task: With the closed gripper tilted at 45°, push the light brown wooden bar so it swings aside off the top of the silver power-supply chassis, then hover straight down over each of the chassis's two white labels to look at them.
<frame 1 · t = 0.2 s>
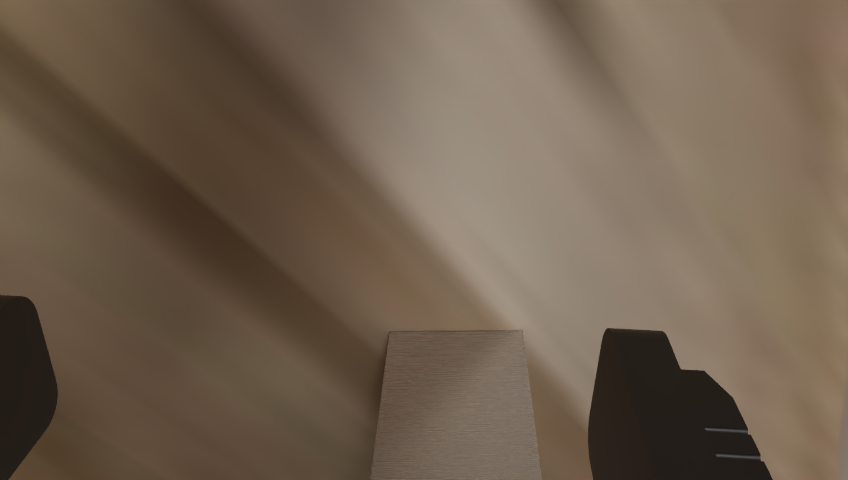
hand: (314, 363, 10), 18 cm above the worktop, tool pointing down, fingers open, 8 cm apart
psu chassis: (459, 456, 36), on the worktop
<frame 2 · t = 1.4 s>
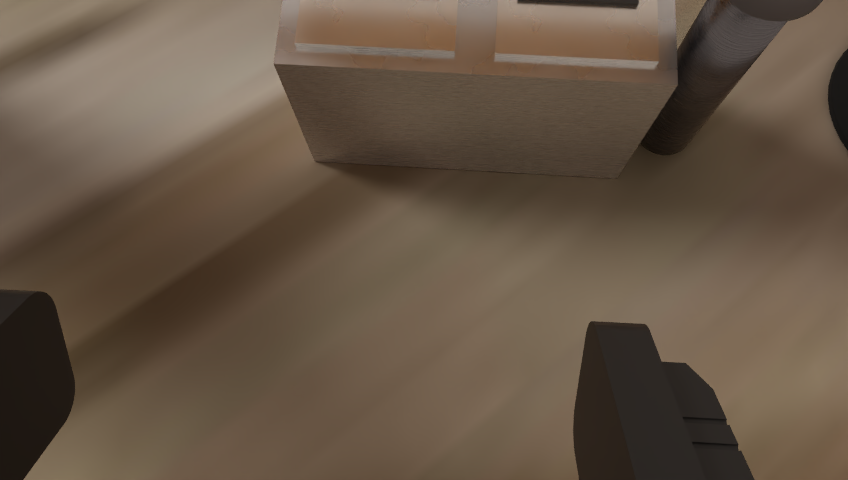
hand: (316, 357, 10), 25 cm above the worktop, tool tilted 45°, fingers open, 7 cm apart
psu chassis: (467, 118, 39), on the worktop
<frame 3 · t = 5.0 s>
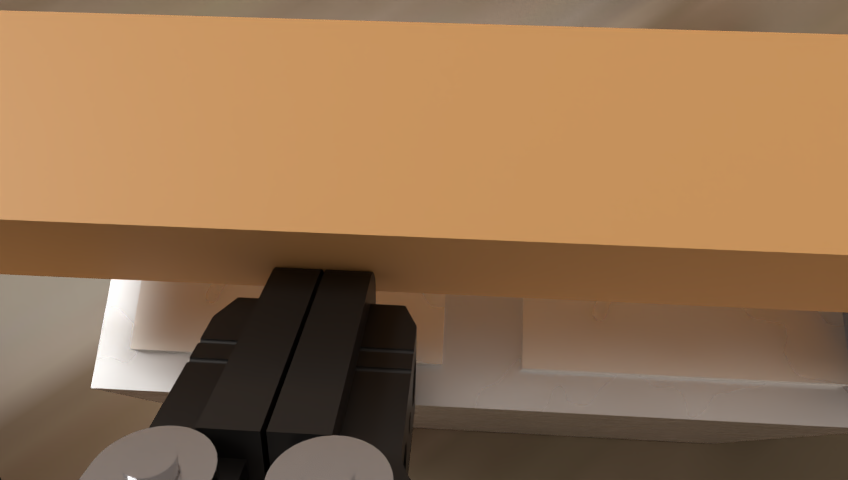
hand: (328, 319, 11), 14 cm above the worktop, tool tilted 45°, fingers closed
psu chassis: (470, 341, 25), on the worktop
light brown wooden bar: (587, 176, 10), point 15 cm above the worktop, hinge at 0.0°, touching gripper
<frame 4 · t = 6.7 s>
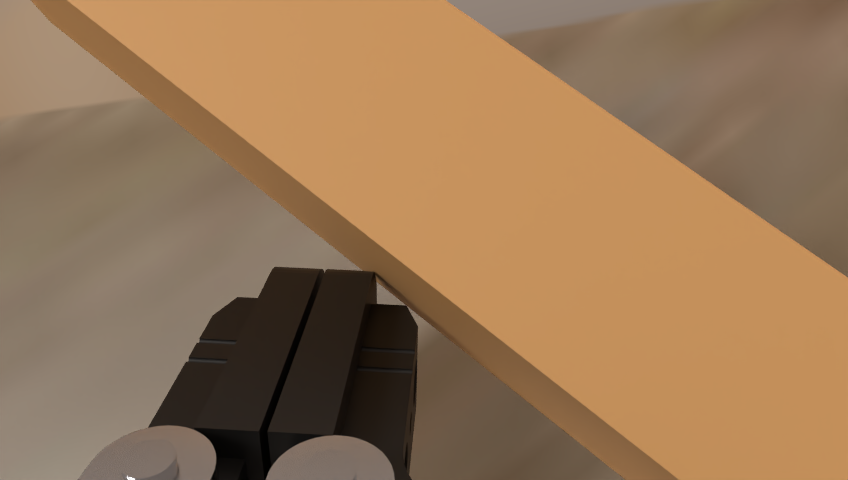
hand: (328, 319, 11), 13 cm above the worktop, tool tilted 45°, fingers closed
light brown wooden bar: (666, 349, 9), point 15 cm above the worktop, hinge at -37.3°, touching gripper
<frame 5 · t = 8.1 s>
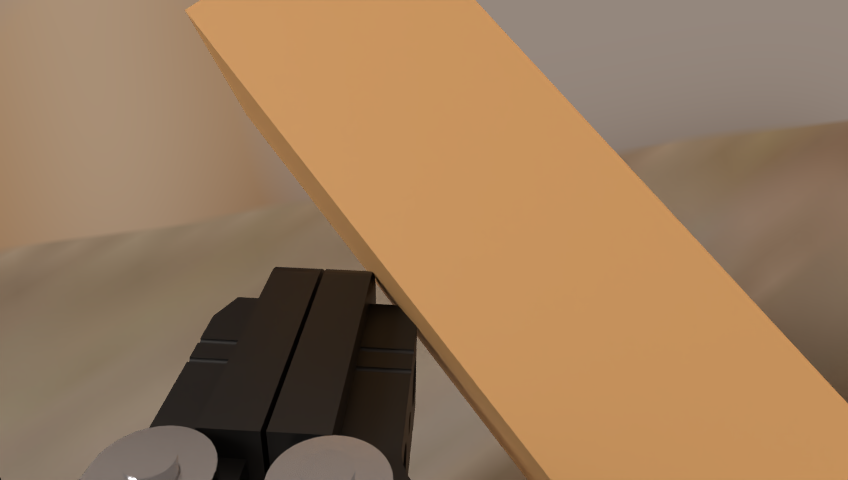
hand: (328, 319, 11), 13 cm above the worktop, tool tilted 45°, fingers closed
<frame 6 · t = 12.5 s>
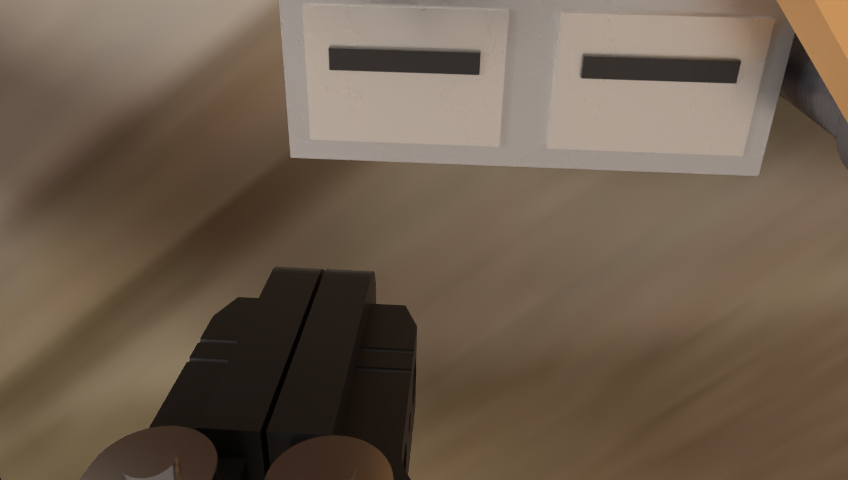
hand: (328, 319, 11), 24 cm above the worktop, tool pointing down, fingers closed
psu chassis: (513, 20, 32), on the worktop
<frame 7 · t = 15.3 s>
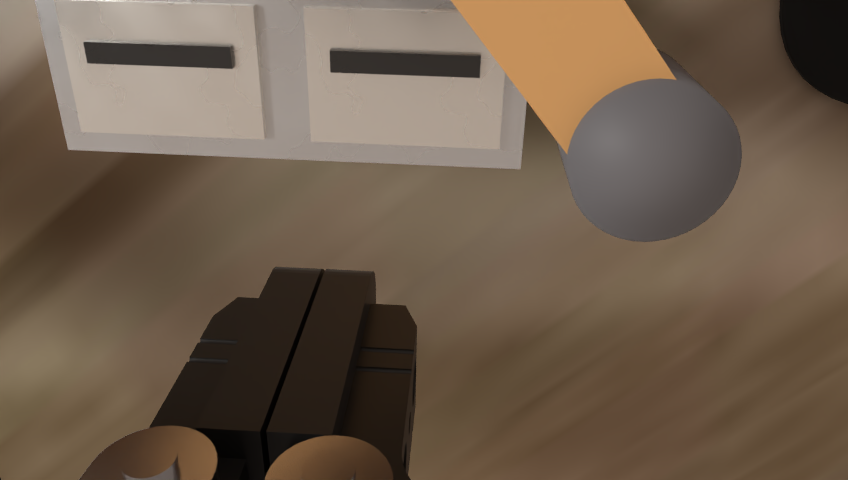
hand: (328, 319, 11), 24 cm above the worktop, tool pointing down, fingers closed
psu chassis: (336, 17, 32), on the worktop
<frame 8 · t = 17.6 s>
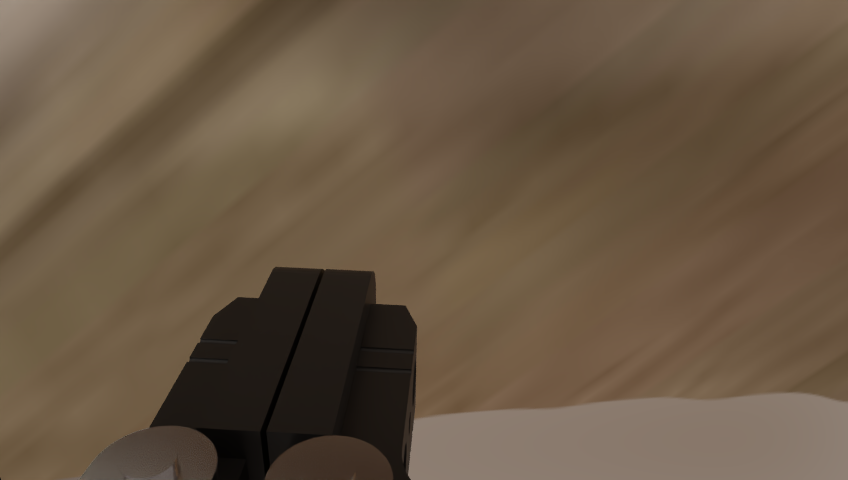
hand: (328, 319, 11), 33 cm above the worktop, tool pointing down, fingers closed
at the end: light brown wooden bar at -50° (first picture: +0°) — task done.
